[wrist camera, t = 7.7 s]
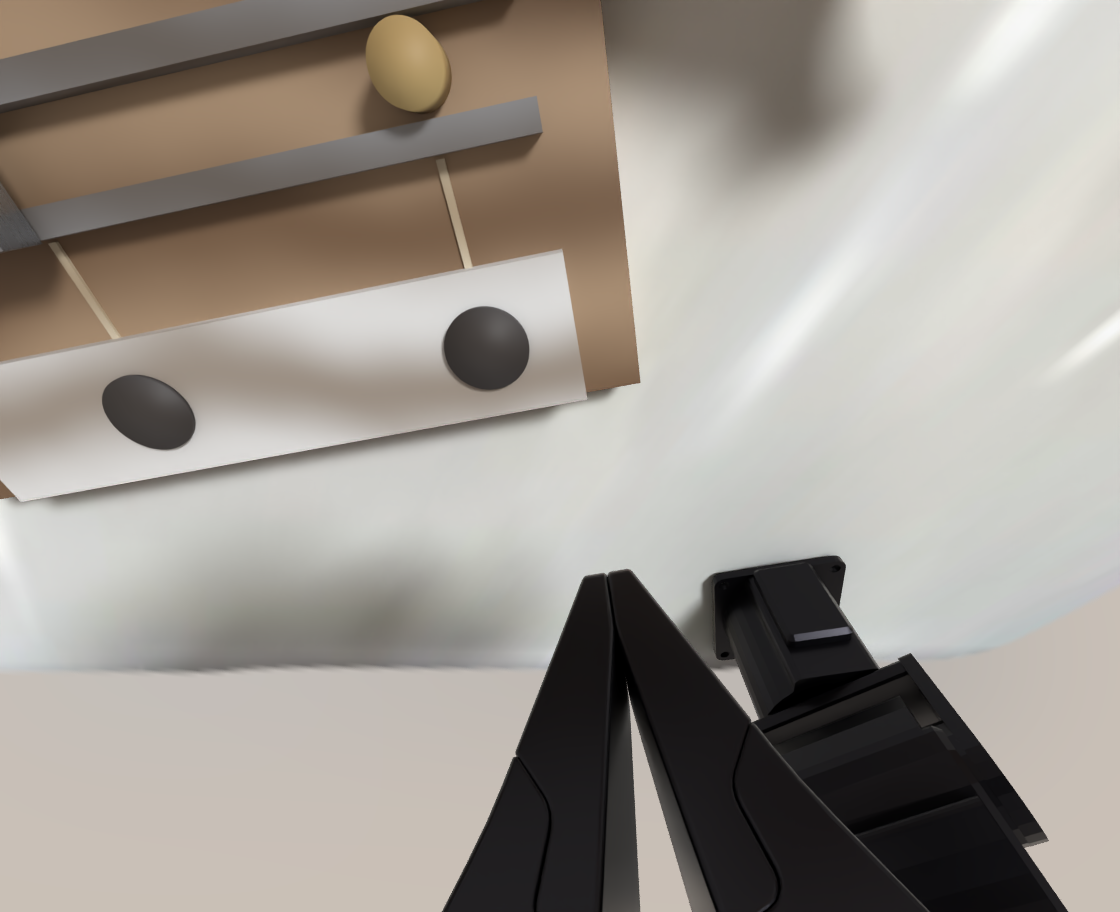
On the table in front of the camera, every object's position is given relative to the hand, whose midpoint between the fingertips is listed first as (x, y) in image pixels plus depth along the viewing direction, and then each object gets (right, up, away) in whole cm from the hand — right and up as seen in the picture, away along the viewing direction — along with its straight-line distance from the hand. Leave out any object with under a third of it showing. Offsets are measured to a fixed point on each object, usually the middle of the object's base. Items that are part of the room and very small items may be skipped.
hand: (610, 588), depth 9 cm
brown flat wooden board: (-12, +9, +8) cm, 17 cm away
